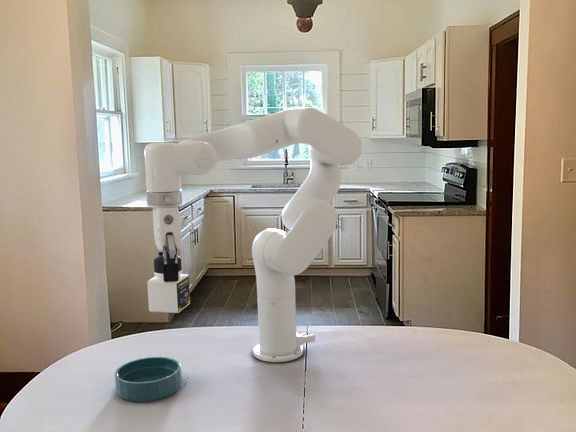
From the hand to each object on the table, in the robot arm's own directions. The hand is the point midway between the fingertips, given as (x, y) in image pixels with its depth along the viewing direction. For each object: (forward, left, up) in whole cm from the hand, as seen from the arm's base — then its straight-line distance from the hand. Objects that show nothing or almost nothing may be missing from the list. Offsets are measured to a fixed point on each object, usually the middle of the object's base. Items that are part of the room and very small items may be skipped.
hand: (168, 276), depth 135 cm
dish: (+6, +3, -24) cm, 25 cm away
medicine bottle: (0, 0, -8) cm, 8 cm away
